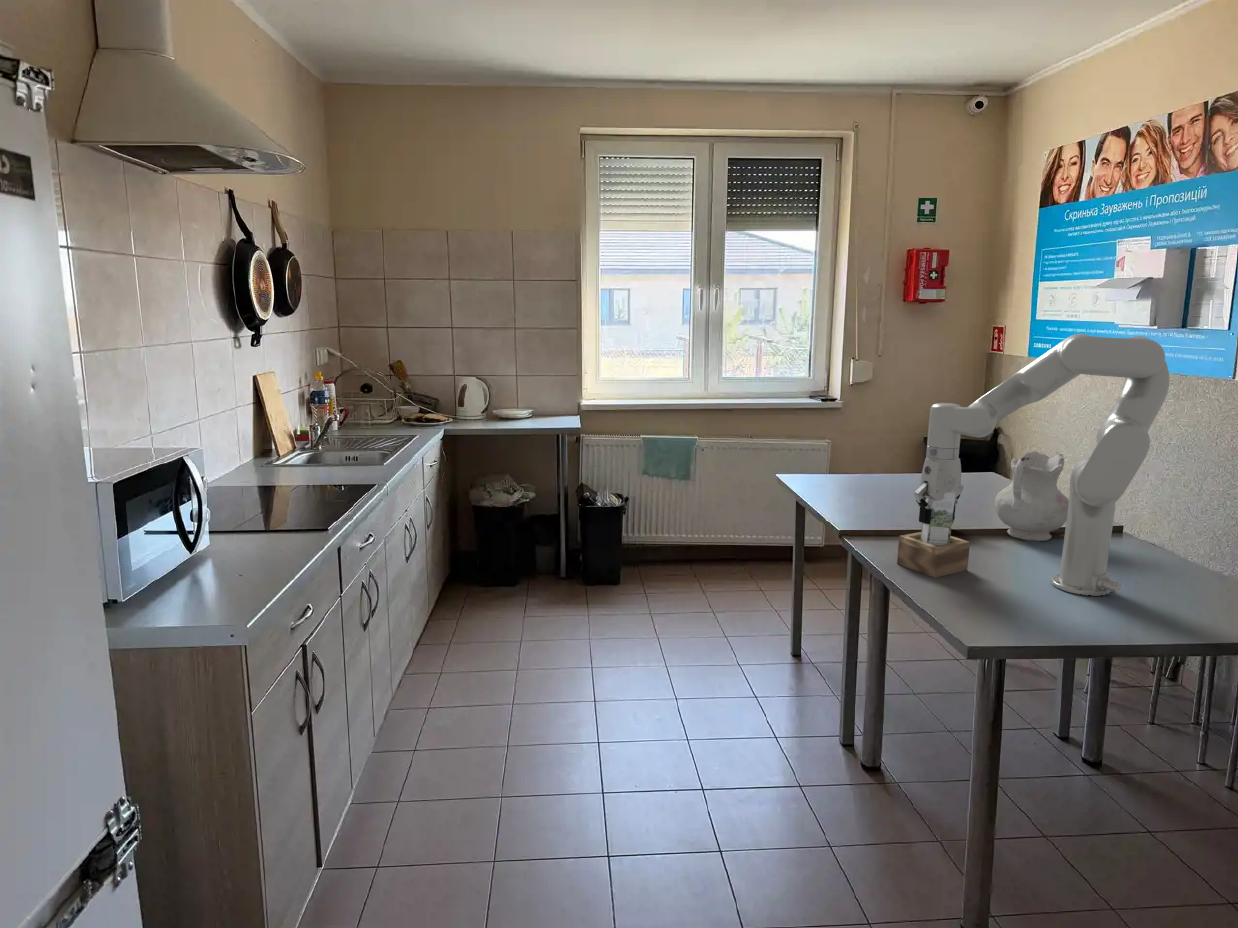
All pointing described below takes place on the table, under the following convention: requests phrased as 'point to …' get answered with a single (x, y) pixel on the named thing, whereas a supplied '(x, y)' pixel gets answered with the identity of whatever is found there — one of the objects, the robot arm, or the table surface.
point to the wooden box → (933, 555)
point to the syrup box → (939, 521)
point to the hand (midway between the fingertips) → (936, 520)
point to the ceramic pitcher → (1033, 497)
